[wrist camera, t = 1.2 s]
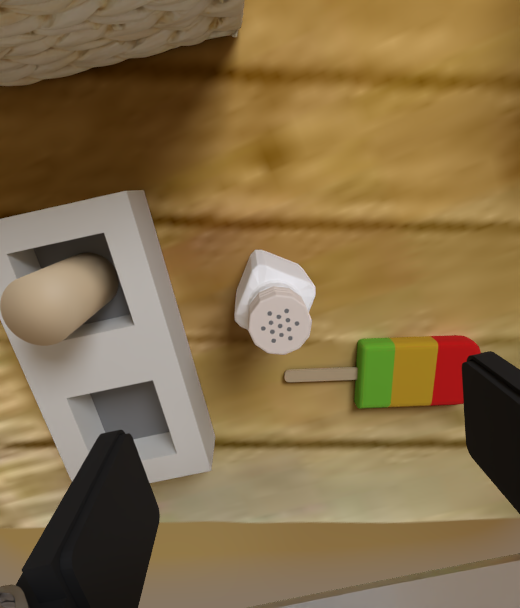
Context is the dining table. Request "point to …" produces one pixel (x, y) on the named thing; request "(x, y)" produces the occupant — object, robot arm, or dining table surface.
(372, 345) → the popsicle
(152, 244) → the block
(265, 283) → the pepper shaker
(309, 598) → the robot arm
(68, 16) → the storage basket
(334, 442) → the dining table surface
